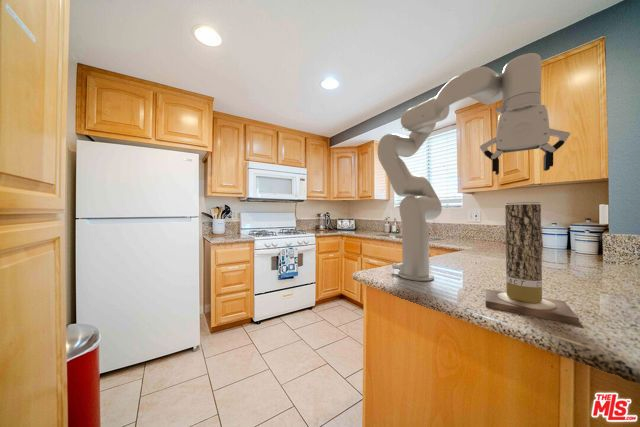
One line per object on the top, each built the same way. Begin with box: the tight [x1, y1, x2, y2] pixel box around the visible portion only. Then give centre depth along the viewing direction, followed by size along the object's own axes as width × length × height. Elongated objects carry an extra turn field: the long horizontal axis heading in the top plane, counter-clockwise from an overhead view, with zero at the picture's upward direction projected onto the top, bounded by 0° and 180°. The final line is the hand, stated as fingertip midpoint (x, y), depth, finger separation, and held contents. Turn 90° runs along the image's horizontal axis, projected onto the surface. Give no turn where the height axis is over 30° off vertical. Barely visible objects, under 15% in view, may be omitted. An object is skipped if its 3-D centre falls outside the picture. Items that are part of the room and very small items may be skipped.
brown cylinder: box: [504, 201, 543, 303], centre depth 57 cm, size 7×7×25 cm
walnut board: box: [485, 288, 580, 326], centre depth 57 cm, size 16×12×2 cm
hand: (520, 172), depth 58 cm, fingers open, 9 cm apart
